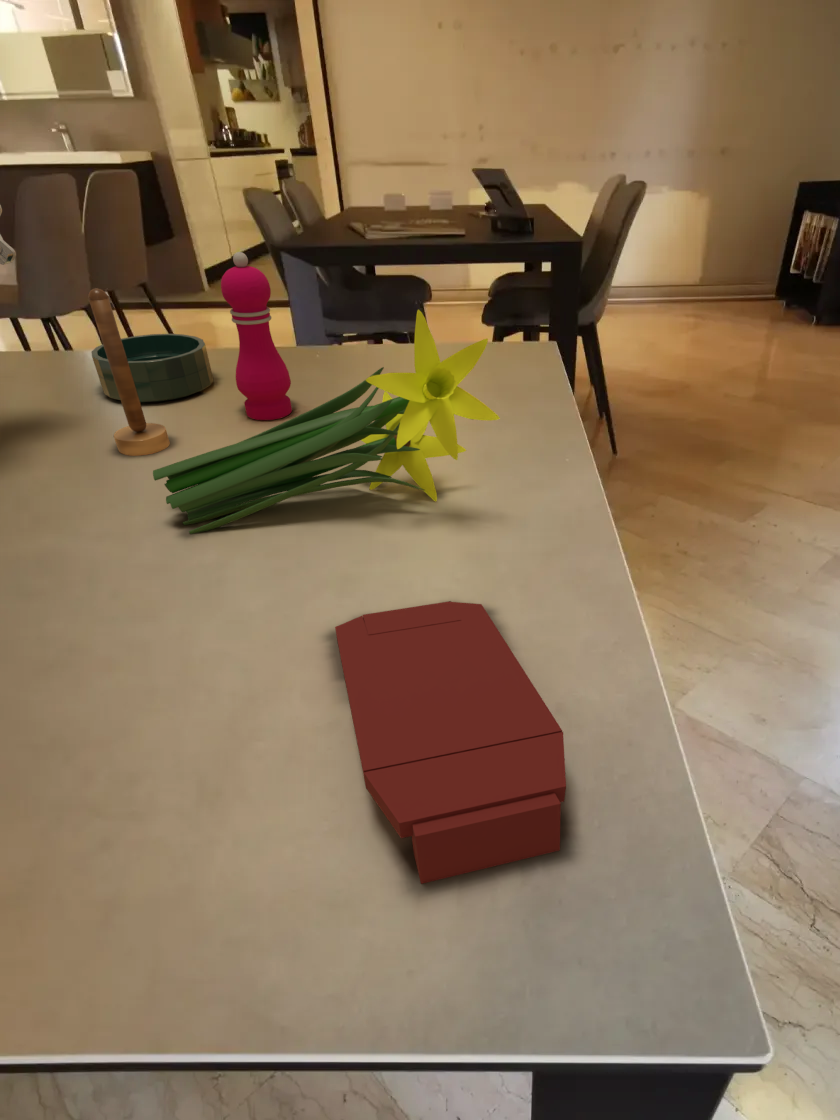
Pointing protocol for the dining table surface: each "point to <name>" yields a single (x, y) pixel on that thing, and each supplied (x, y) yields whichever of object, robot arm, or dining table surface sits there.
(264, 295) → the pepper mill
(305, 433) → the daffodil flowers
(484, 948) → the dining table surface
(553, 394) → the dining table surface
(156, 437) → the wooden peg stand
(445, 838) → the carton
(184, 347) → the bowl
